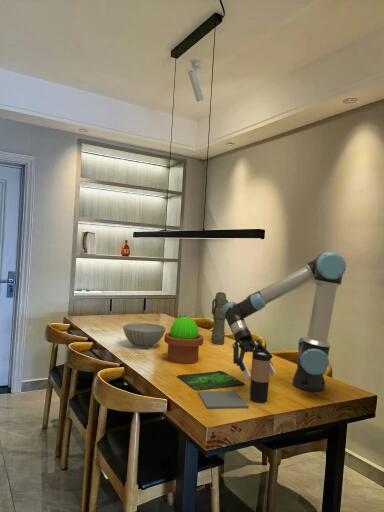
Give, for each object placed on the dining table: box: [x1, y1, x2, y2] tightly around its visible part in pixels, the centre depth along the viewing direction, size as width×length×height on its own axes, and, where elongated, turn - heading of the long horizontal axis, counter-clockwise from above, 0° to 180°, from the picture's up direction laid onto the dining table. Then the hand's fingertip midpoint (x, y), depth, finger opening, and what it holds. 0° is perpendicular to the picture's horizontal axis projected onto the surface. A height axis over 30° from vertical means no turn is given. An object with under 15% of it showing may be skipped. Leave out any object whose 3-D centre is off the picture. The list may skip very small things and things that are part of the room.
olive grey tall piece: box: [211, 291, 229, 346], centre depth 266 cm, size 9×12×35 cm
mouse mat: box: [176, 370, 245, 392], centre depth 184 cm, size 27×22×1 cm
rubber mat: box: [197, 390, 250, 410], centre depth 160 cm, size 17×17×1 cm
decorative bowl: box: [122, 322, 167, 349], centre depth 244 cm, size 27×27×12 cm
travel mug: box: [249, 351, 272, 404], centre depth 163 cm, size 8×8×20 cm
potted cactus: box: [163, 315, 204, 364], centre depth 218 cm, size 22×22×25 cm
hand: (261, 376), depth 162 cm, fingers open, 13 cm apart
